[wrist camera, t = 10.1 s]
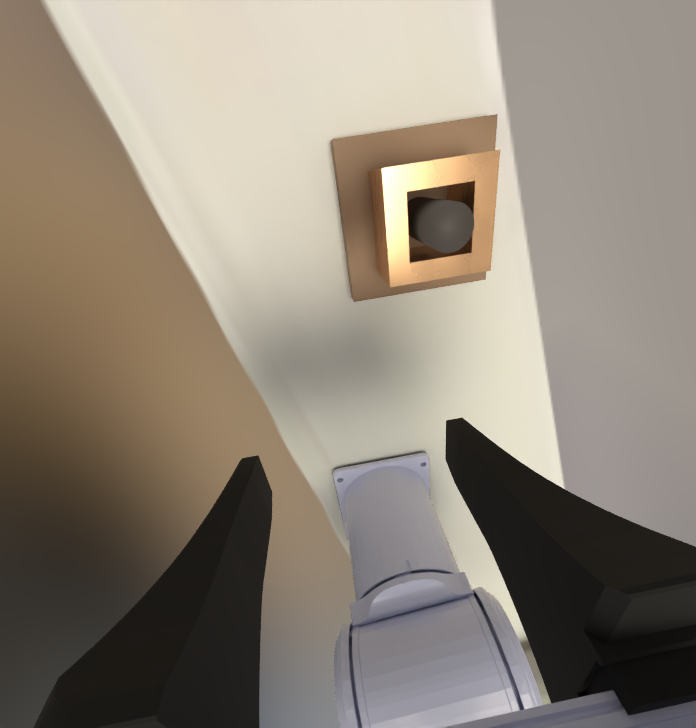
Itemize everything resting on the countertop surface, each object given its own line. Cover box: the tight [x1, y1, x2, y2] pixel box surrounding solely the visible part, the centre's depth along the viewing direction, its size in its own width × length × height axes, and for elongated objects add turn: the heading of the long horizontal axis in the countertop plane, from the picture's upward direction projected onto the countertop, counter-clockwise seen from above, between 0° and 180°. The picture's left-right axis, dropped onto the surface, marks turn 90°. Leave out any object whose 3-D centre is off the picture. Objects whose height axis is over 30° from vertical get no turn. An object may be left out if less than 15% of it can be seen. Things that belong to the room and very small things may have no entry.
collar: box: [368, 150, 500, 287], centre depth 16 cm, size 5×5×3 cm
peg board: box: [331, 114, 497, 302], centre depth 16 cm, size 8×8×6 cm
